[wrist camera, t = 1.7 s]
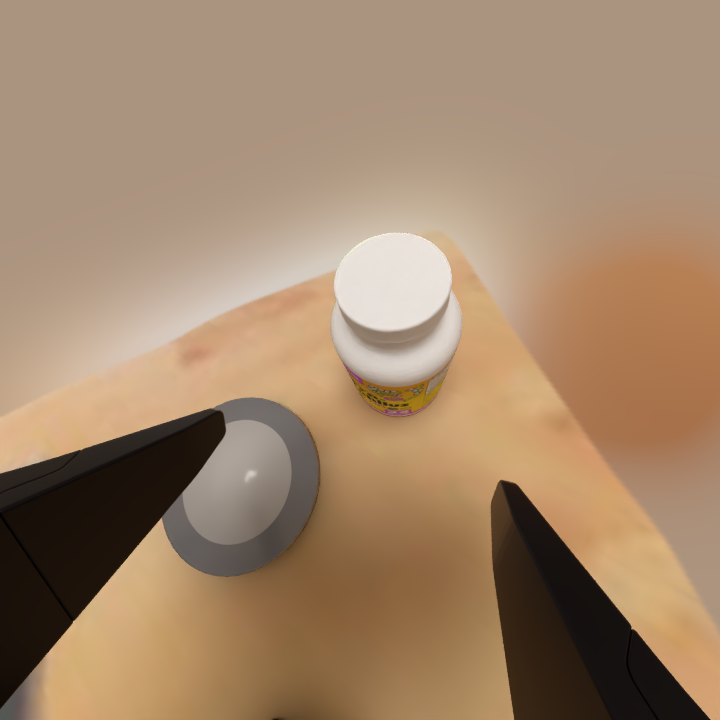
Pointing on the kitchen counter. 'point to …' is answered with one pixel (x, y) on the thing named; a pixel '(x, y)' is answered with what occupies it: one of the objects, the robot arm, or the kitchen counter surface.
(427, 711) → the kitchen counter surface
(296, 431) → the gray plate
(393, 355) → the supplement bottle
